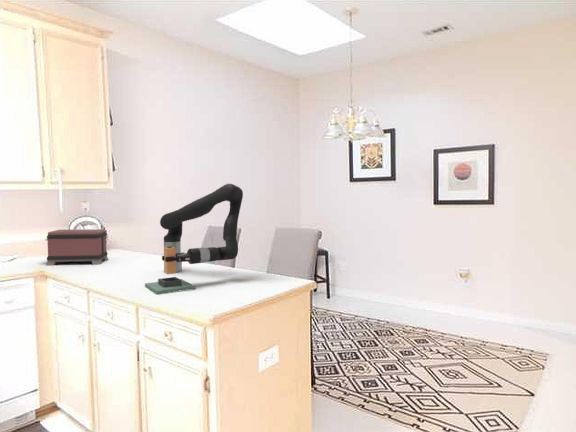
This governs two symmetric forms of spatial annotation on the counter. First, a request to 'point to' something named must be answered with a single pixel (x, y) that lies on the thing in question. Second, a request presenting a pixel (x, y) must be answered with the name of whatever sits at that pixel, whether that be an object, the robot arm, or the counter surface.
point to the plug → (169, 266)
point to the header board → (169, 285)
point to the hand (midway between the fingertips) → (164, 258)
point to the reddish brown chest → (77, 246)
